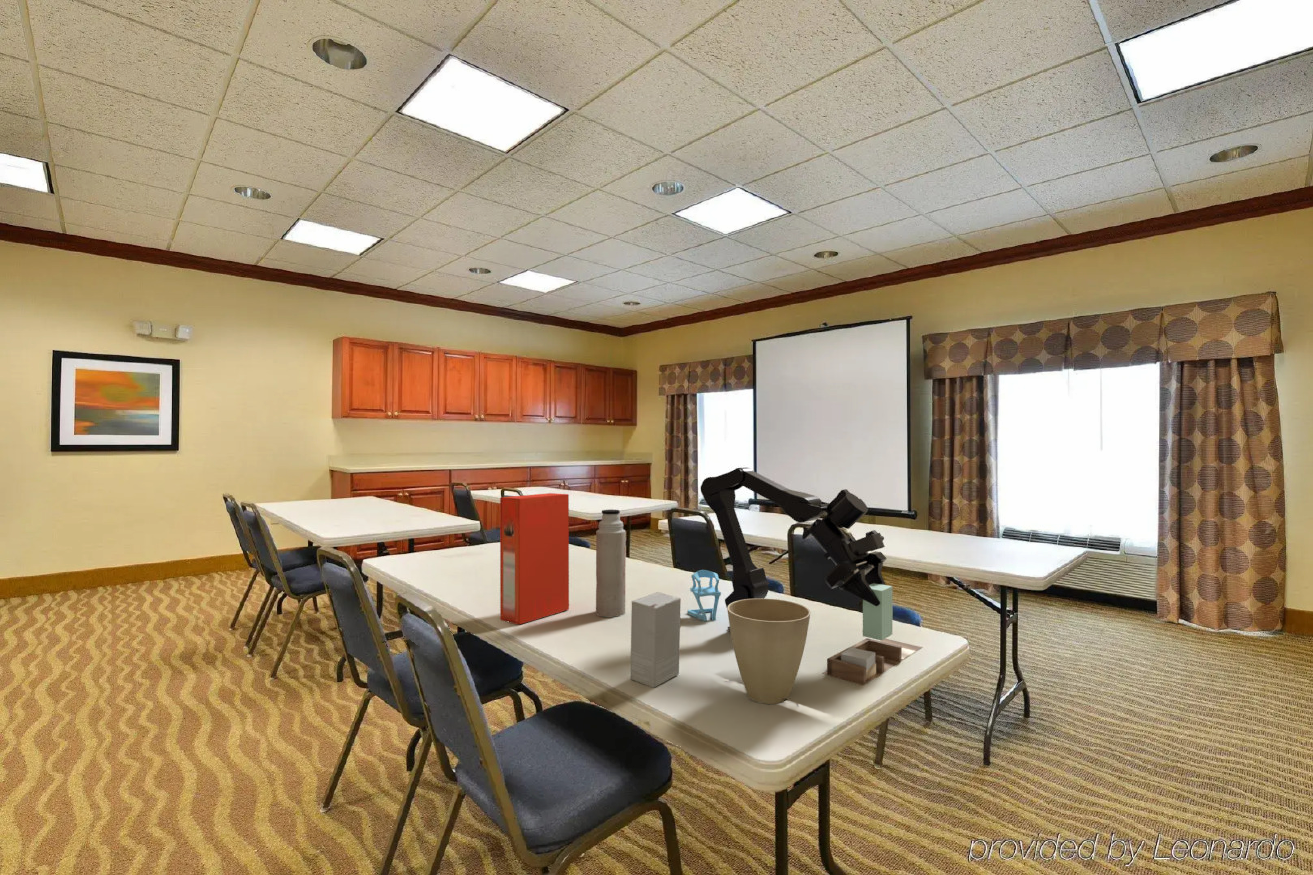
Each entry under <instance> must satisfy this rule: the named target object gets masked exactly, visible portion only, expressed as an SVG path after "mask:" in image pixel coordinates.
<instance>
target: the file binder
mask: <svg viewBox="0 0 1313 875" xmlns="http://www.w3.org/2000/svg"><path fill="white" fill-rule="evenodd" d="M569 500H570V499H569V493H553V492H552V493H551V492H549V493H538V494H527V495H526V494H525V495H515V496H503V497H500V498H499V504H500V506H499V507H500V508H499V509H500V510H499V511H500V512H499V516H500V517H499V519H500V520H499V521H500V522H499V523H500V524H499V525H500V527H499V530H500V531H499V532H500V533H499V536H500V538H499V540H500V541H499V542H500V543H499V544H500V547H499V549H500V550H499V552H500V556H499V557H500V558H499V562H500V563H499V566H500V568H499V574H500V579H499V580H500V584H499V586H500V587H499V588H500V589H499V596H500V599H499V600H500V602H499V604H500V607H499V609H500V614H499V615H500V616H499V617H500V621H503V622H506V621H509V622H508V623H510V622H511V624H514V625H523V624H525V623H529V622H533V621H536V620H539V619H542V617H543V618H544V617H545V616H546V617H549V616H552V615H555V613H556V614H558V613H561V612H566V611H569V610H570V588H569V587H570V575H569V574H570V551H569V550H570V539H569V538H570V537H569V536H570V533H569V530H570V529H569V527H570V524H569V523H570V519H569V518H570V515H569V514H570V508H569V504H570V503H569ZM565 610H566V611H565Z"/></svg>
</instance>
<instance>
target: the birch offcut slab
mask: <svg viewBox="0 0 1313 875" xmlns="http://www.w3.org/2000/svg"><path fill="white" fill-rule="evenodd" d="M875 674H876V663H874V664H873V665H872V666H871V667H870V668H869V669H867V670H866V680H867V679H868V678H870V677H872V676H873V675H875Z"/></svg>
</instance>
